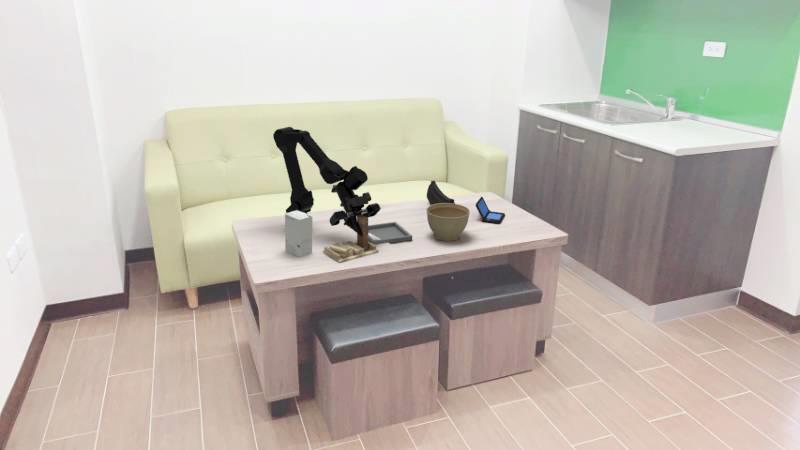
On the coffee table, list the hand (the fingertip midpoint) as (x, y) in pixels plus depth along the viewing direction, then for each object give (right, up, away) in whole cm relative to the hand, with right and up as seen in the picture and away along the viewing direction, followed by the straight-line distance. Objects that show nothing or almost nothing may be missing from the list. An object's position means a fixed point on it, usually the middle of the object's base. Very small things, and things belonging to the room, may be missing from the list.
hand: (364, 235), depth 204 cm
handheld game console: (+50, +6, +38) cm, 63 cm away
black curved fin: (+29, +8, +43) cm, 53 cm away
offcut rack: (-5, -7, 0) cm, 8 cm away
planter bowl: (+30, -1, +18) cm, 35 cm away
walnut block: (-1, -6, +3) cm, 7 cm away
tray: (+6, -1, +17) cm, 18 cm away
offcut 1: (-8, -5, -3) cm, 10 cm away
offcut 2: (-8, -7, -2) cm, 11 cm away
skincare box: (-23, -7, 0) cm, 24 cm away
